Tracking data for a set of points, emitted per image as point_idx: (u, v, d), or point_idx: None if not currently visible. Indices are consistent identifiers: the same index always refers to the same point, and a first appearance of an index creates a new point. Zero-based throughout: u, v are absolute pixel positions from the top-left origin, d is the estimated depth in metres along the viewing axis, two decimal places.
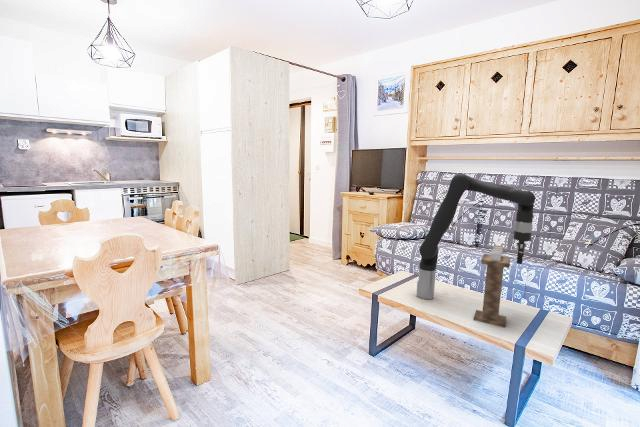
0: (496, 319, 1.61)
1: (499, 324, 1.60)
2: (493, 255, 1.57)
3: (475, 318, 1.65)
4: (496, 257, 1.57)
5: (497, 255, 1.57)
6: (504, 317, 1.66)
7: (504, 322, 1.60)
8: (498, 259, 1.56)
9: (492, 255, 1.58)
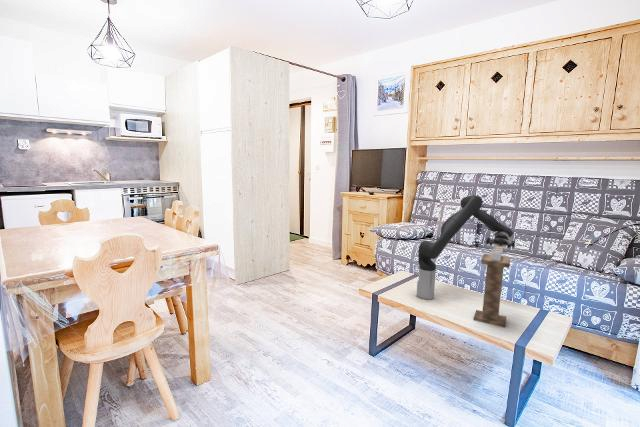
0: (496, 319, 1.61)
1: (499, 324, 1.60)
2: (493, 255, 1.57)
3: (475, 318, 1.65)
4: (496, 257, 1.57)
5: (497, 255, 1.57)
6: (504, 317, 1.66)
7: (504, 322, 1.60)
8: (498, 259, 1.56)
9: (492, 255, 1.58)
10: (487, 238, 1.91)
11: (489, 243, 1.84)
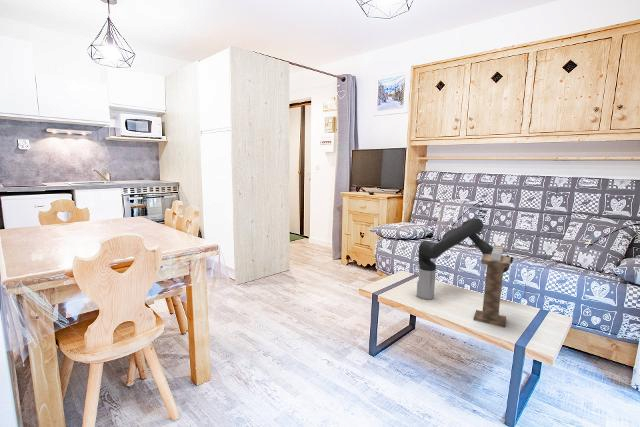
0: (496, 319, 1.61)
1: (499, 324, 1.60)
2: (493, 255, 1.57)
3: (475, 318, 1.65)
4: (496, 257, 1.57)
5: (497, 255, 1.57)
6: (504, 317, 1.66)
7: (504, 322, 1.60)
8: (498, 259, 1.56)
9: (492, 255, 1.58)
10: None
11: None
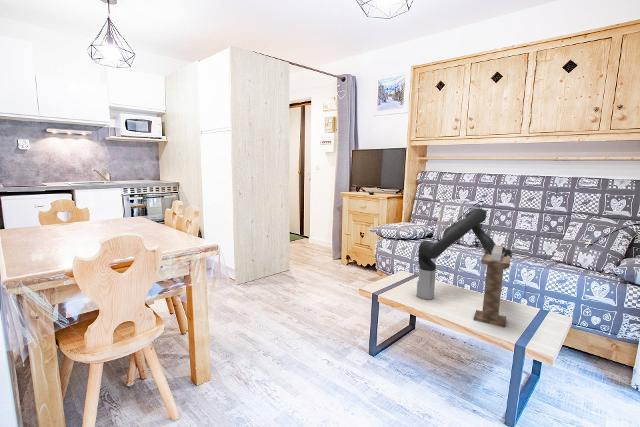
0: (496, 319, 1.61)
1: (499, 324, 1.60)
2: (493, 255, 1.57)
3: (475, 318, 1.65)
4: (496, 257, 1.57)
5: (497, 255, 1.56)
6: (504, 317, 1.66)
7: (504, 322, 1.60)
8: (498, 259, 1.56)
9: (492, 255, 1.58)
10: (486, 248, 1.80)
11: (491, 247, 1.72)
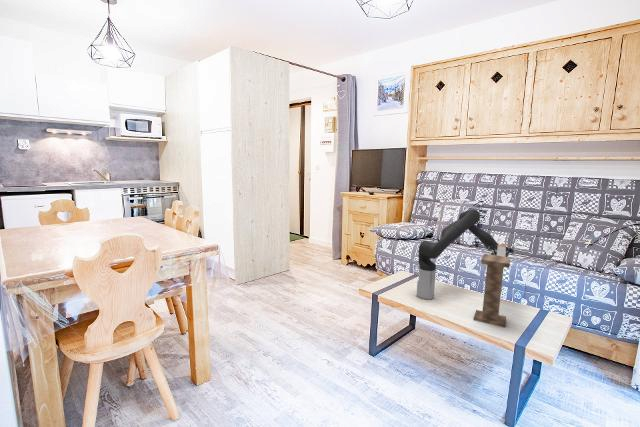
0: (496, 319, 1.61)
1: (499, 324, 1.60)
2: None
3: (475, 318, 1.65)
4: None
5: None
6: (504, 317, 1.66)
7: (504, 322, 1.60)
8: None
9: None
10: (489, 246, 1.92)
11: (495, 247, 1.84)
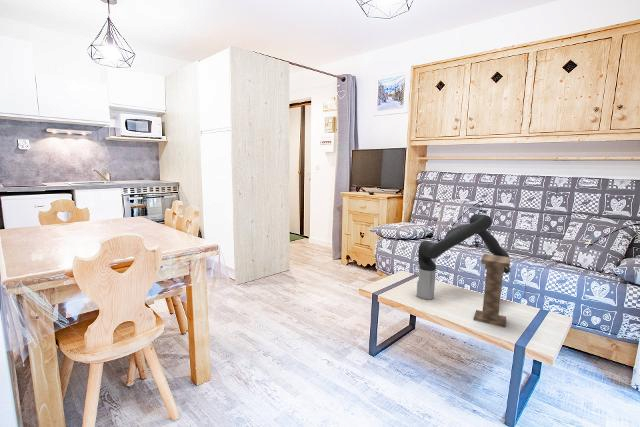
0: (496, 319, 1.61)
1: (499, 324, 1.60)
2: None
3: (475, 318, 1.65)
4: None
5: None
6: (504, 317, 1.66)
7: (504, 322, 1.60)
8: None
9: None
10: (486, 264, 1.95)
11: None
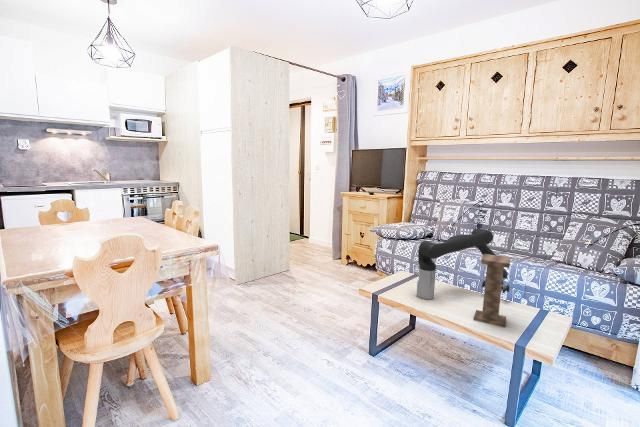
0: (496, 319, 1.61)
1: (499, 324, 1.60)
2: None
3: (475, 318, 1.65)
4: None
5: None
6: (504, 317, 1.66)
7: (504, 322, 1.60)
8: None
9: None
10: (483, 281, 1.98)
11: None
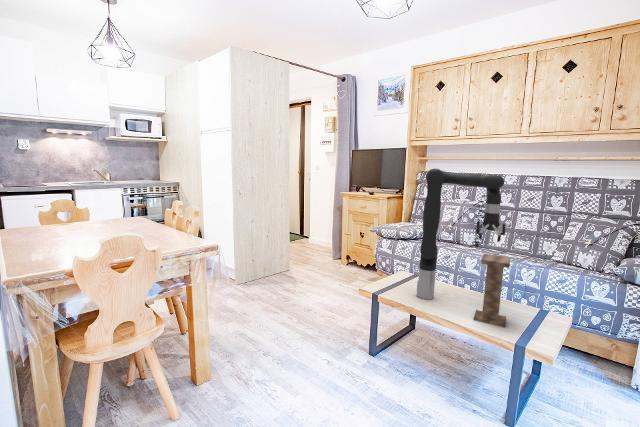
0: (496, 319, 1.61)
1: (499, 324, 1.60)
2: None
3: (475, 318, 1.65)
4: None
5: None
6: (504, 317, 1.66)
7: (504, 322, 1.60)
8: None
9: None
10: None
11: (479, 238, 1.85)
